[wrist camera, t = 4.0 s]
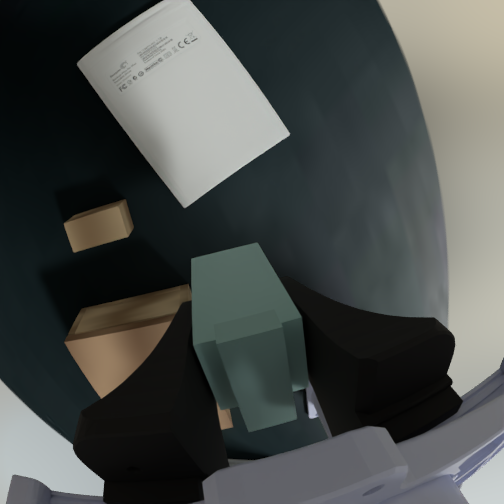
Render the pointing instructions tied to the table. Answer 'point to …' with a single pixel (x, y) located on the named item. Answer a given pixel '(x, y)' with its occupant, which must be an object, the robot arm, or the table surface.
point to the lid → (121, 354)
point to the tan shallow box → (126, 310)
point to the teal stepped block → (248, 335)
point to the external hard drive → (182, 98)
